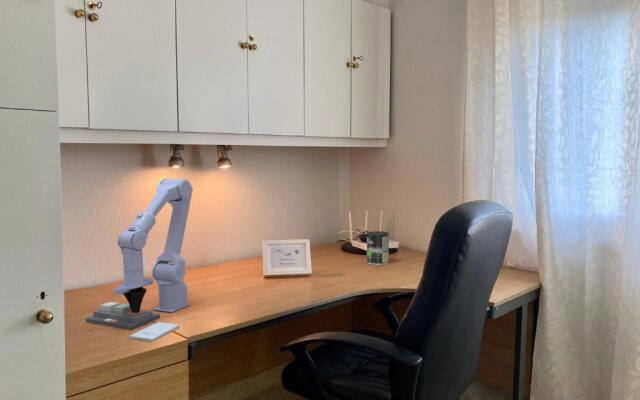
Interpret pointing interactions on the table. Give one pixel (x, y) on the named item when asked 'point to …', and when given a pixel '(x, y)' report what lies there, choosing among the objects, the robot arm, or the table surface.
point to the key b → (121, 309)
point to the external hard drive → (154, 332)
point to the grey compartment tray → (122, 319)
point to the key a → (108, 306)
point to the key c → (135, 313)
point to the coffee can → (377, 248)
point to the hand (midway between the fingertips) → (135, 312)
